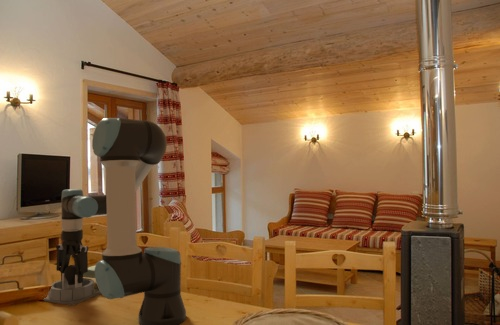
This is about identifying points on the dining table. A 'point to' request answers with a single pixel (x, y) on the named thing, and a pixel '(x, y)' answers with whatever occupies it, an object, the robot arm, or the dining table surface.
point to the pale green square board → (90, 272)
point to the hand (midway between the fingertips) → (71, 290)
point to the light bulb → (70, 276)
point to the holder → (71, 293)
